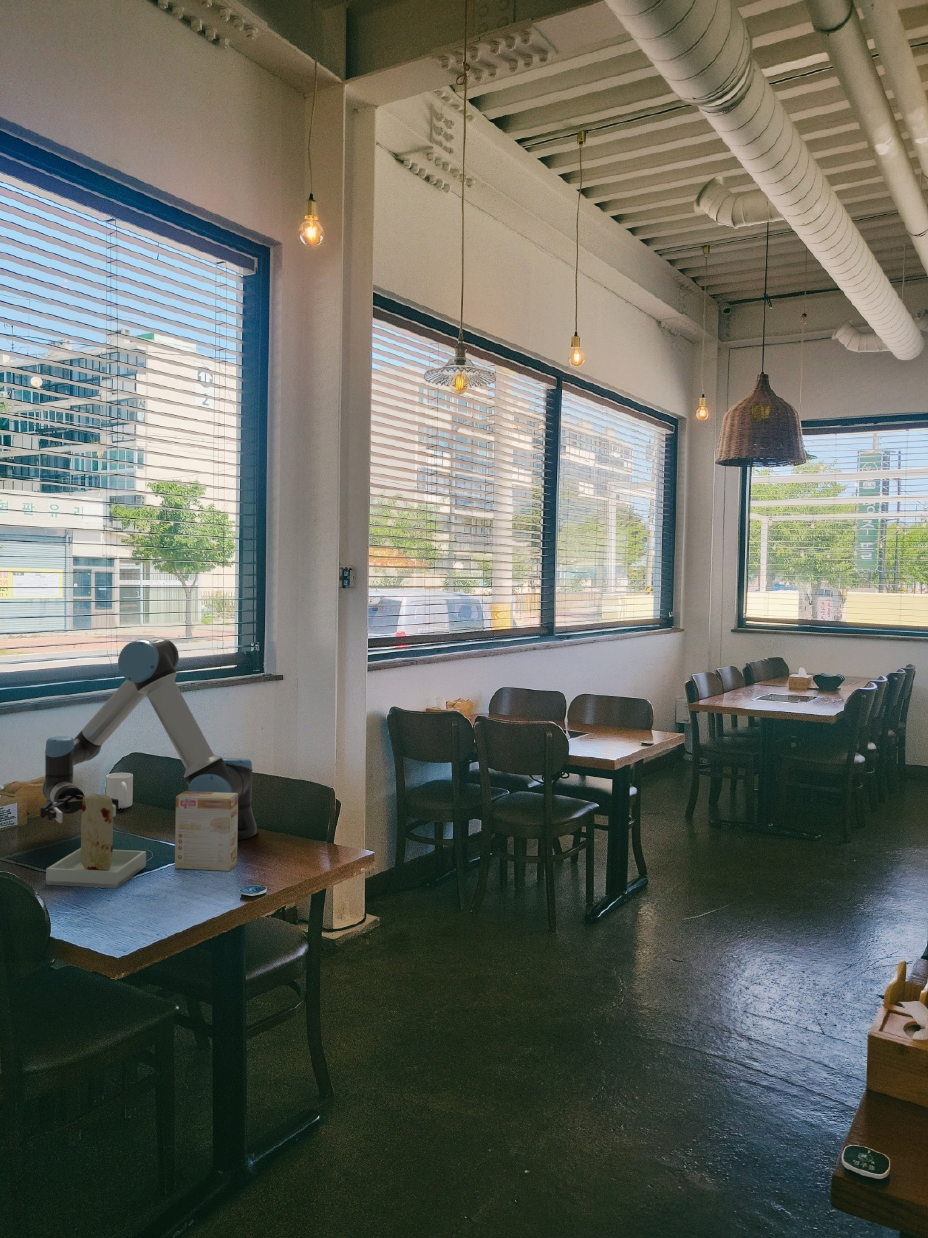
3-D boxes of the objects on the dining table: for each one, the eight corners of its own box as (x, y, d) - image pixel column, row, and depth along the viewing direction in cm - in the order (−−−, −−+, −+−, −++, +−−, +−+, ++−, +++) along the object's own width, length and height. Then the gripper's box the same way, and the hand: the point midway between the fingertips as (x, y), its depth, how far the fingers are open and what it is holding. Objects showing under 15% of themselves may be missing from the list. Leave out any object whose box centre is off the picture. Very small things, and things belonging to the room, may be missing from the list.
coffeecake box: (237, 863, 253) (239, 792, 253) (229, 872, 246) (230, 798, 245) (183, 861, 254) (184, 790, 253) (173, 869, 247) (175, 796, 246)
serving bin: (145, 866, 249) (146, 851, 249) (116, 888, 231) (116, 872, 231) (80, 862, 250) (80, 848, 250) (45, 884, 232) (46, 868, 232)
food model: (73, 871, 240) (74, 794, 239) (94, 864, 246) (95, 789, 245) (100, 878, 235) (101, 799, 234) (121, 870, 241) (122, 794, 240)
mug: (138, 810, 306) (138, 778, 306) (111, 812, 302) (112, 781, 301) (128, 802, 316) (129, 771, 316) (103, 804, 312) (103, 774, 311)
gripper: (112, 805, 272) (135, 822, 255) (19, 816, 257) (37, 835, 240) (113, 780, 272) (136, 795, 255) (19, 789, 257) (37, 806, 240)
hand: (88, 814), depth 247 cm, fingers open, 13 cm apart
